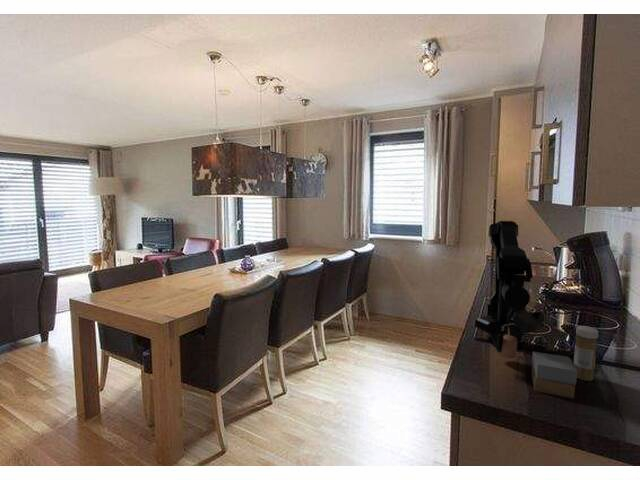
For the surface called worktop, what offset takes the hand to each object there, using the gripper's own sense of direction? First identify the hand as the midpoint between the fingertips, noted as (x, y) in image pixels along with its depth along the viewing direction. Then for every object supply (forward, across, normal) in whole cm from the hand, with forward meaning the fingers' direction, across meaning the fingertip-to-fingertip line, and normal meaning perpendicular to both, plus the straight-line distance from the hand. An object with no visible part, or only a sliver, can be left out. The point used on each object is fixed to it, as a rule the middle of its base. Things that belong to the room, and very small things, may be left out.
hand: (506, 350), depth 101 cm
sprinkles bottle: (+4, +13, -13) cm, 18 cm away
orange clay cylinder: (+1, 0, 0) cm, 1 cm away
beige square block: (+4, +1, -14) cm, 14 cm away
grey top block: (0, +1, -14) cm, 14 cm away
